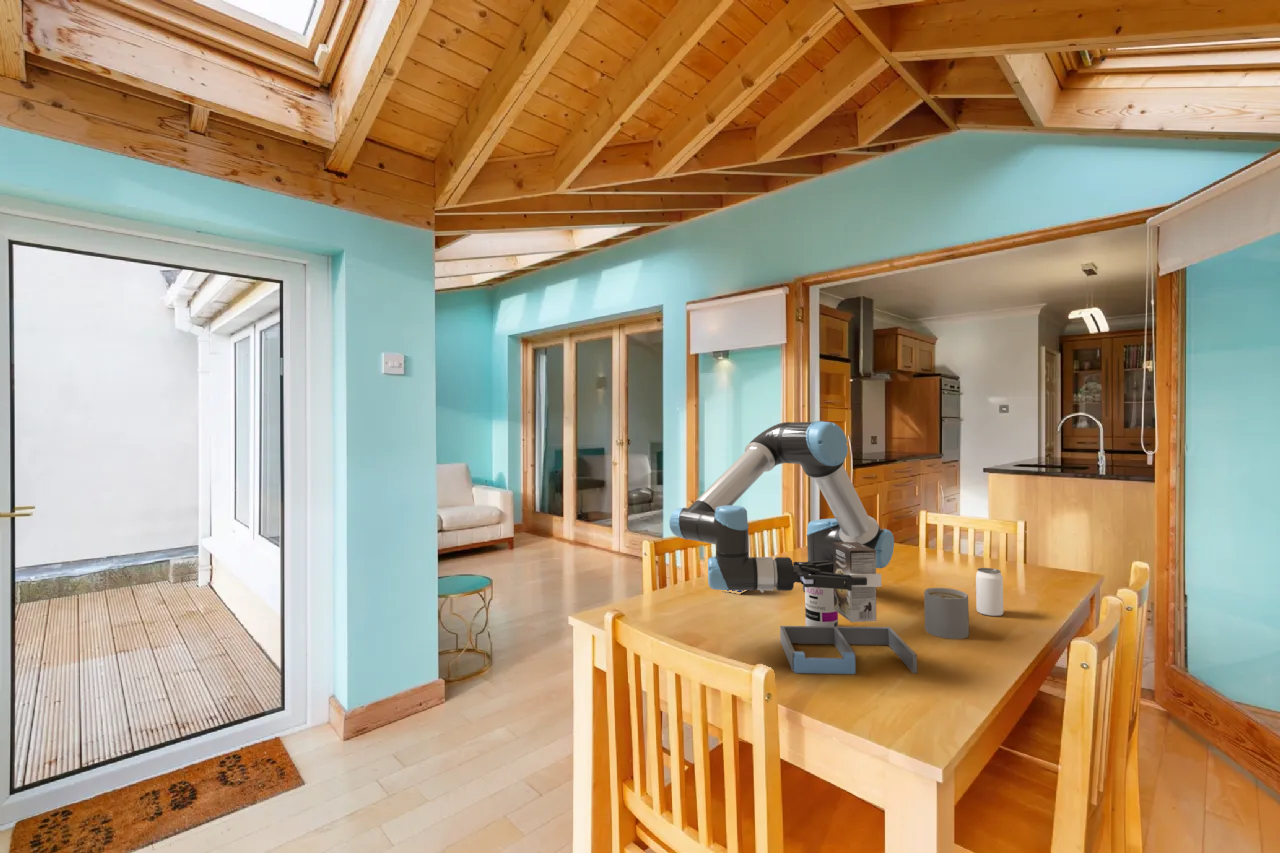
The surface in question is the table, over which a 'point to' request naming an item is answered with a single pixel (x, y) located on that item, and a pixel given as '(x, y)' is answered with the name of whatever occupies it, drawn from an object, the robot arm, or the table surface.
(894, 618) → the table surface
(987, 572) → the can
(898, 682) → the table surface
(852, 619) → the coffee box
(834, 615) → the supplement can
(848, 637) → the divider rack
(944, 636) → the coffee mug
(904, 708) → the table surface
